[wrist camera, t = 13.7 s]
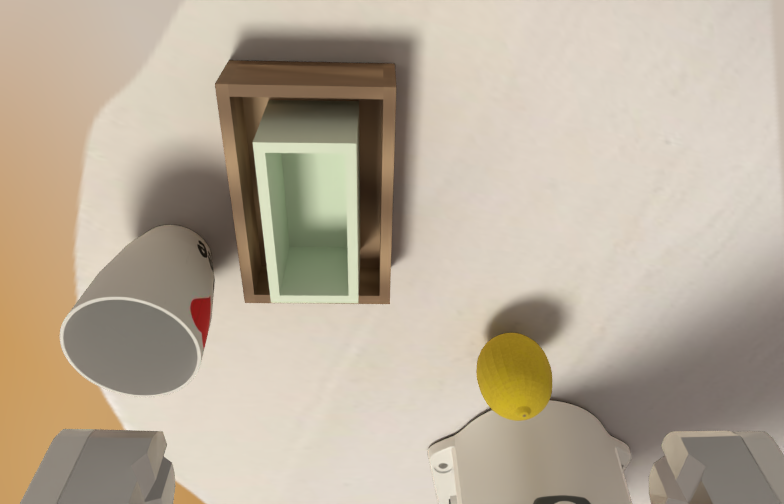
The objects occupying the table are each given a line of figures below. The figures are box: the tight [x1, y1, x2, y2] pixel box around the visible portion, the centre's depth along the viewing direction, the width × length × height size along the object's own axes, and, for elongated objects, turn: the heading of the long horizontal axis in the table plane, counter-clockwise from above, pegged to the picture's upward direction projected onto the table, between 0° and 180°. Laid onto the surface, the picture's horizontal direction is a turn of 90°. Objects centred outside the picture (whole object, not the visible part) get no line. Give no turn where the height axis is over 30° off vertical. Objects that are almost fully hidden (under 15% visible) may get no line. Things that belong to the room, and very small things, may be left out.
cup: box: [60, 225, 215, 397], centre depth 42 cm, size 8×8×10 cm
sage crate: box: [253, 100, 360, 303], centre depth 39 cm, size 11×6×6 cm, turn 179°
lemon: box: [477, 333, 552, 421], centre depth 48 cm, size 6×6×8 cm
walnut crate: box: [215, 60, 396, 304], centre depth 41 cm, size 15×10×4 cm, turn 178°
